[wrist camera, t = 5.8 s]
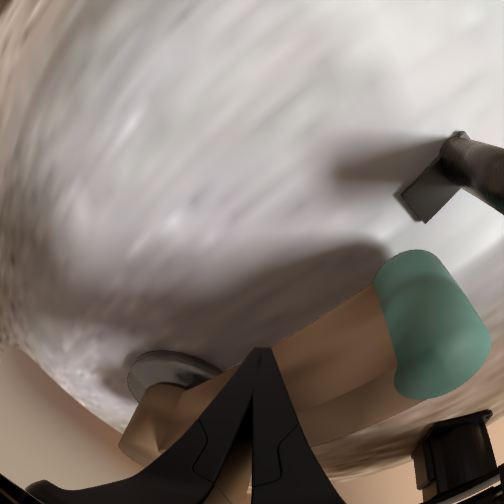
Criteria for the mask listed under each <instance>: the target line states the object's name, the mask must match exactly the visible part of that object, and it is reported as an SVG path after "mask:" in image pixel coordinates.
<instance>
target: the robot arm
mask: <svg viewBox="0 0 504 504" xmlns="http://www.w3.org/2000/svg"><path fill="white" fill-rule="evenodd" d="M492 415H493V413H492V411H491V410H489V411H485V412H482V413H479V414H475V415H472V416H468V417H464V418H460V419H456V420H452V421H447V422H443V423H438V424H436V425H434V426H433V427H432V428H431V429H430V431H429V432H428V433H427V435H426V436H425V437H424V439H423V440H422V441H421V443H420V444H419V445H418V447H417V448H416V449H415V451H414V452H413V453H412V454H411V459H414V467H415V475H416V484H417V489H418V490H422V492H423V503H420V504H452V503H455V502H457V501H460V500H462V499H464V498H466V497H469V496H471V495H473V494H475V493H477V492H479V491H481V490H483V489H485V488H487V487H489V486H491V485H492V484H494V483H496V482H498V481H501V484H500V485H498V486H496V487H493V486H492V487H490V488H488V489H487V490H484V491H483V492H481V493H479V494H477V495H475V496H472V497H471V498H468V499H466V500H464V501H461V502H459V503H457V504H504V463H503V464H501V465H500V466H498V468H497V465H496V461H495V457H494V453H493V449H492V445H491V442H490V438H489V435H488V432H487V429H486V425H485V424H486V422H487V421H488V420H489V419H490V418H491V416H492ZM251 473H252V497H251V504H346V503H345V502H344V500H343V499H342V498H341V497H340V496H339V494H338V493H337V492H336V490H335V488H334V487H333V485H332V484H331V482H330V480H329V479H328V477H327V476H326V474H325V472H324V471H323V469H322V467H321V466H320V464H319V463H318V461H317V459H316V457H315V456H314V454H313V452H312V450H311V448H310V446H309V444H308V442H307V439H306V437H305V435H304V432H303V430H302V427H301V425H300V422H299V420H298V417H297V414H296V412H295V409H294V407H293V404H292V401H291V399H290V396H289V393H288V391H287V388H286V386H285V383H284V380H283V378H282V375H281V372H280V370H279V367H278V364H277V362H276V359H275V356H274V354H273V351H272V349H271V348H270V347H255V348H253V349H252V351H251V352H250V353H249V355H248V356H247V357H246V359H245V360H244V361H243V362H242V364H241V365H240V366H239V368H238V369H237V370H236V371H235V373H234V374H233V375H232V376H231V378H230V379H229V380H228V381H227V383H226V384H225V385H224V386H223V388H222V389H221V390H220V391H219V393H218V394H217V395H216V396H215V398H214V399H213V400H212V401H211V402H210V404H209V405H208V406H207V407H206V408H205V410H204V411H203V412H202V413H201V414H200V416H199V417H198V419H196V420H195V421H194V423H193V424H192V425H191V426H190V427H189V428H188V429H187V431H186V432H185V433H184V434H183V435H182V436H181V437H180V438H179V439H178V440H177V441H176V442H175V443H174V444H172V445H171V446H170V447H169V448H168V449H167V450H166V451H165V452H163V453H162V454H161V455H160V456H159V457H158V458H156V459H155V460H154V461H153V462H152V463H150V464H149V465H148V466H147V467H146V468H144V469H143V470H142V471H140V472H139V473H137V474H136V475H134V476H132V477H129V478H127V479H124V480H120V481H116V482H112V483H108V484H104V485H101V486H95V487H91V488H86V489H81V490H65V489H61V488H59V487H57V486H55V485H54V484H52V483H50V482H49V481H47V480H41V481H38V482H35V483H32V484H30V485H29V486H28V487H26V488H25V490H26V491H27V492H28V493H27V492H26V491H25V490H23V489H22V488H20V487H19V486H17V485H16V484H14V483H13V482H12V481H10V480H9V479H7V478H6V477H5V476H3V475H2V474H0V504H244V501H245V497H246V494H247V490H248V486H249V482H250V478H251ZM30 494H31V495H30Z"/></svg>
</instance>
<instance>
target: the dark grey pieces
mask: <svg viewBox="0 0 504 504" xmlns="http://www.w3.org/2000/svg"><path fill="white" fill-rule="evenodd" d="M460 188H462V189H463V190H465V191H467V192H469V193H470V194H472V195H474V196H475V197H477V198H478V199H480V200H482V201H483V202H485V203H486V204H488V205H489V206H491V207H493V208H494V209H496V210H497V211H499V212H500V213H502V214H503V215H504V149H503V148H500V147H497V146H493V145H490V144H486V143H482V142H478V141H474V140H470V138H469V137H468V135H467V134H466V132H465V131H461V132H460V133H459V134H458V135H457V136H456V137H452V138H450V139H448V140H447V141H446V142H445V143H444V144H443V146H442V147H441V150H440V153H439V156H438V157H437V158H436V159H435V160H434V161H433V162H432V163H431V164H430V165H429V166H428V167H427V168H426V169H425V171H424V172H423V173H422V174H421V175H420V176H419V177H418V178H417V179H416V180H415V181H414V182H413V183H412V184H411V185H410V186H409V187H408V188H407V189H406V190H405V191H404V192H403V193H402V194H401V196H402V197H403V198H404V199H405V200H406V201H407V203H408V204H409V205H410V206H411V207H412V209H413V210H414V211H415V212H416V214H417V215H418V216H419V217H420V219H421V220H422V221H423V222H424V223H425V224H426V223H427V222H428V221H429V220H430V219H431V218H432V217H433V216H434V215H435V214H436V213H437V212H438V211H439V210H440V209H441V208H442V207H443V206H444V205H445V204H446V203H447V202H448V201H449V200H450V199H451V198H452V197H453V196H454V194H455V193H456V192H457V191H458V190H459V189H460ZM222 373H224V372H222V371H221V370H219V369H218V368H216V367H214V366H213V365H211V364H209V363H207V362H205V361H203V360H200V359H198V358H196V357H193V356H190V355H187V354H183V353H179V352H173V351H152V352H148V353H145V354H143V355H141V356H140V357H139V358H138V359H137V361H136V362H135V364H134V366H133V367H132V369H131V371H130V372H129V374H128V377H127V383H128V387H129V390H130V391H131V393H132V395H133V396H134V398H135V399H136V400H137V401H138V403H139V402H140V401H141V399H142V397H143V395H144V393H145V391H146V389H147V388H148V387H149V386H151V385H155V384H166V385H172V386H176V387H179V388H182V389H185V390H189V389H192V388H194V387H196V386H198V385H200V384H202V383H204V382H206V381H208V380H210V379H212V378H214V377H216V376H218V375H220V374H222Z"/></svg>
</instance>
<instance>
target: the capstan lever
mask: <svg viewBox="0 0 504 504" xmlns="http://www.w3.org/2000/svg"><path fill="white" fill-rule="evenodd" d="M490 346H491V337H490V334H489V332H488V330H487V328H486V327H485V325H484V323H483V322H482V320H481V319H480V317H479V315H478V314H477V312H476V311H475V309H474V308H473V306H472V305H471V303H470V302H469V300H468V299H467V297H466V296H465V294H464V293H463V291H462V290H461V288H460V287H459V286H458V284H457V283H456V281H455V280H454V279H453V277H452V276H451V275H450V273H449V272H448V270H447V269H446V268H445V266H444V265H443V264H442V263H441V261H440V260H439V259H438V258H437V257H436V256H435V255H434V254H432V253H430V252H428V251H425V250H409V251H405V252H402V253H399V254H398V255H396V256H394V257H392V258H391V259H390V260H388V261H387V262H386V263H385V264H384V265H383V266H382V267H381V269H380V270H379V271H378V273H377V275H376V276H375V279H374V281H373V283H372V284H370V285H369V286H367V287H366V288H364V289H363V290H361V291H360V292H359V293H357V294H356V295H354V296H353V297H351V298H350V299H348V300H347V301H345V302H344V303H342V304H341V305H339V306H338V307H336V308H334V309H333V310H331V311H330V312H328V313H327V314H325V315H323V316H322V317H320V318H319V319H317V320H316V321H314V322H312V323H311V324H309V325H307V326H306V327H304V328H303V329H301V330H299V331H298V332H296V333H294V334H293V335H291V336H289V337H287V338H286V339H284V340H282V341H281V342H279V343H277V344H275V345H274V346H272V347H270V348H271V349H272V351H273V354H274V356H275V359H276V362H277V364H278V367H279V370H280V372H281V375H282V378H283V380H284V383H285V386H286V388H287V391H288V393H289V396H290V399H291V401H292V404H293V407H294V409H295V412H296V414H297V417H298V420H299V422H300V425H301V427H302V430H303V432H304V435H305V437H306V439H307V442H308V444H309V446H310V447H313V446H316V445H320V444H323V443H326V442H329V441H332V440H335V439H338V438H340V437H343V436H346V435H349V434H351V433H354V432H357V431H359V430H362V429H364V428H367V427H369V426H372V425H374V424H376V423H379V422H381V421H383V420H385V419H388V418H390V417H392V416H394V415H396V414H398V413H401V412H403V411H405V410H407V409H409V408H411V407H413V406H415V405H417V404H419V403H420V402H422V401H424V400H426V399H430V398H435V397H438V396H441V395H444V394H446V393H448V392H451V391H453V390H454V389H456V388H458V387H459V386H461V385H462V384H464V383H465V382H466V381H468V380H469V379H470V378H471V377H472V376H473V375H474V374H475V373H476V372H477V371H478V370H479V369H480V367H481V366H482V364H483V363H484V361H485V360H486V358H487V356H488V353H489V350H490ZM241 364H242V363H241ZM241 364H239V365H237V366H235V367H234V368H232V369H230V370H228V371H226V372H224V373H222V374H220V375H218V376H216V377H214V378H212V379H210V380H208V381H206V382H204V383H202V384H200V385H198V386H196V387H194V388H192V389H189V390H185V389H182V388H179V387H176V386H172V385H166V384H155V385H151V386H149V387H148V388H147V389H146V391H145V393H144V395H143V397H142V399H141V401H140V402H139V404H138V406H137V408H136V410H135V412H134V414H133V416H132V418H131V420H130V422H129V424H128V426H127V428H126V430H125V432H124V434H123V436H122V438H121V440H120V442H119V448H120V449H121V451H122V452H123V453H124V454H126V455H127V456H128V457H129V458H131V459H132V460H134V461H135V462H137V463H138V464H140V465H142V466H144V467H147V466H148V465H149V464H150V463H152V462H153V461H154V460H155V459H156V458H158V457H159V456H160V455H161V454H162V453H163V452H165V451H166V450H167V449H168V448H169V447H170V446H171V445H172V444H174V443H175V442H176V441H177V440H178V439H179V438H180V437H181V436H182V435H183V434H184V433H185V432H186V431H187V429H188V428H189V427H190V426H191V425H192V424H193V423H194V421H195V420H196V419H198V417H199V416H200V414H201V413H202V412H203V411H204V410H205V408H206V407H207V406H208V405H209V404H210V402H211V401H212V400H213V399H214V398H215V396H216V395H217V394H218V393H219V391H220V390H221V389H222V388H223V386H224V385H225V384H226V383H227V381H228V380H229V379H230V378H231V376H232V375H233V374H234V373H235V371H236V370H237V369H238V368H239V366H240V365H241Z"/></svg>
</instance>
